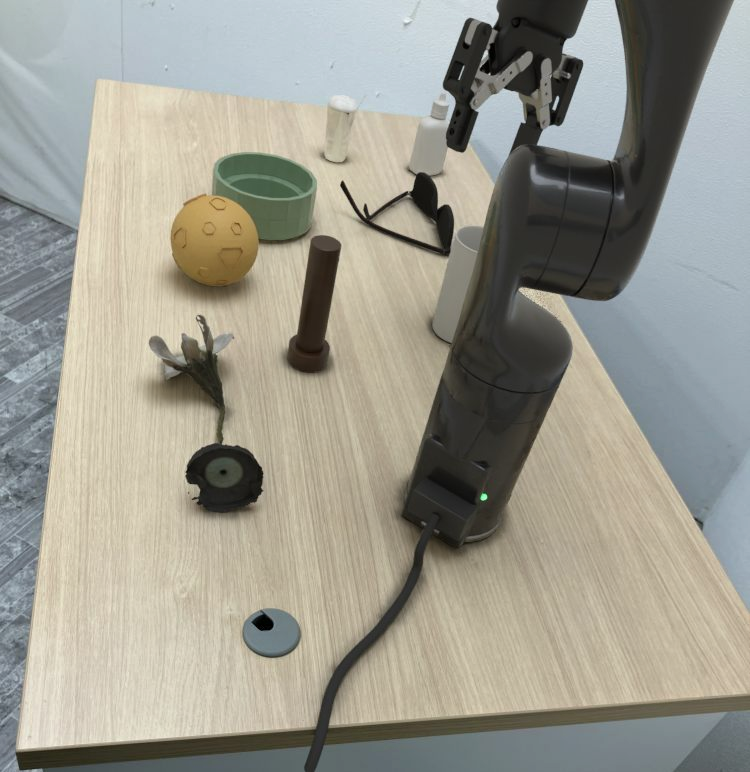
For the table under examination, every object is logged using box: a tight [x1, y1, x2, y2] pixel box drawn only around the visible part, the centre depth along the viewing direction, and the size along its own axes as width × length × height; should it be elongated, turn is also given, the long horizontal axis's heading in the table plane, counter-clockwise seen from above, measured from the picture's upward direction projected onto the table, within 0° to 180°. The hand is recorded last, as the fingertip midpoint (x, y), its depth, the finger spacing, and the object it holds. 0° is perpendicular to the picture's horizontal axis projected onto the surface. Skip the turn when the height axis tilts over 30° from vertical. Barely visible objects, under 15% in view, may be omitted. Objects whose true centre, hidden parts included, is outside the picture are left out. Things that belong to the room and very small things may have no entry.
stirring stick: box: [286, 234, 342, 373], centre depth 83 cm, size 4×4×14 cm
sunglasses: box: [339, 172, 455, 255], centre depth 112 cm, size 17×14×5 cm
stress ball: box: [169, 193, 260, 287], centre depth 92 cm, size 10×10×10 cm
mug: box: [431, 224, 484, 344], centre depth 95 cm, size 10×7×12 cm, turn 1°
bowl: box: [211, 151, 318, 241], centre depth 106 cm, size 13×13×6 cm
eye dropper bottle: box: [408, 91, 450, 177], centre depth 125 cm, size 4×6×12 cm
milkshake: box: [323, 94, 367, 163], centre depth 122 cm, size 4×5×10 cm
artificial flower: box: [148, 314, 265, 513], centre depth 75 cm, size 9×22×10 cm, turn 11°
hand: (486, 157), depth 78 cm, fingers open, 8 cm apart
